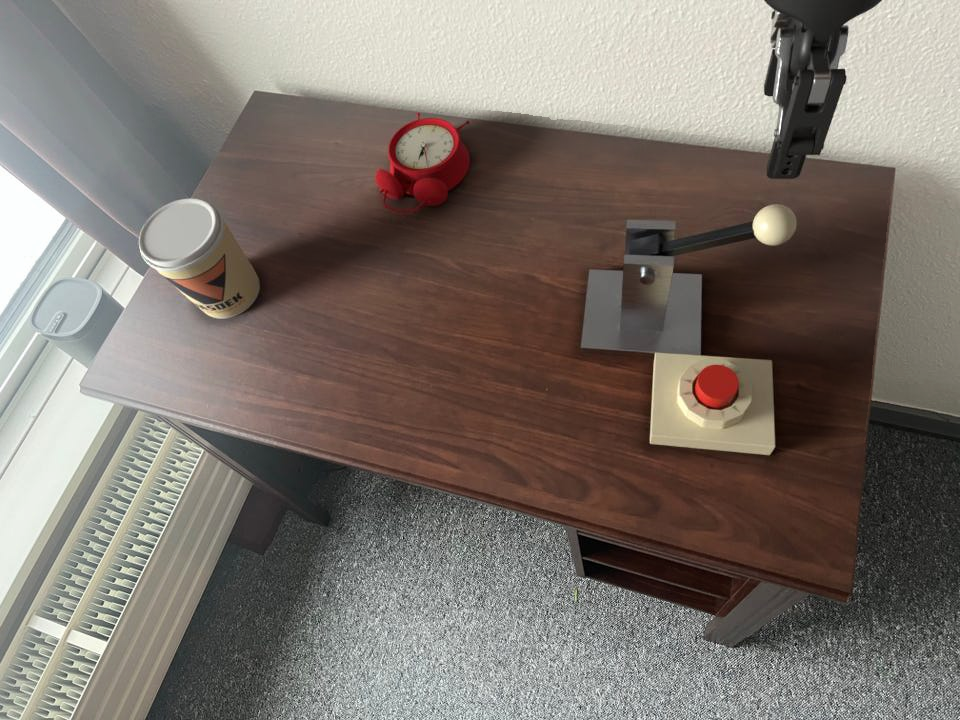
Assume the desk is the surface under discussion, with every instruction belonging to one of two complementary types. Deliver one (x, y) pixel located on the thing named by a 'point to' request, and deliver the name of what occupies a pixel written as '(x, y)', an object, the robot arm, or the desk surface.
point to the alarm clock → (424, 162)
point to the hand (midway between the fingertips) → (779, 132)
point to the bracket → (643, 303)
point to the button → (716, 386)
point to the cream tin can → (200, 257)
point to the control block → (712, 428)
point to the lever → (724, 234)
